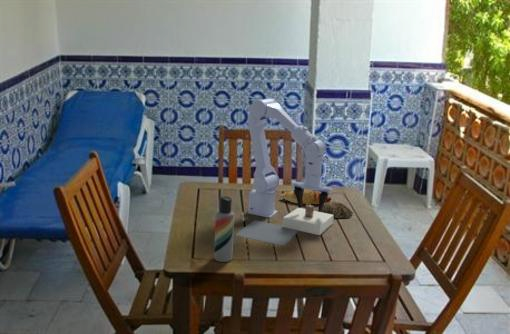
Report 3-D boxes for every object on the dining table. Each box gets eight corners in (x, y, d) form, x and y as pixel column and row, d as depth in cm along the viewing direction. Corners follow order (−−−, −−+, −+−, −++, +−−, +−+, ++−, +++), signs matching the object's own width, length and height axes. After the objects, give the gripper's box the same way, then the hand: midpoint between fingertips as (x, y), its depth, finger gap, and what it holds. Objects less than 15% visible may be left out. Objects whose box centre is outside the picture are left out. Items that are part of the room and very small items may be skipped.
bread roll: (315, 210, 220) (316, 198, 219) (342, 207, 225) (343, 196, 224) (331, 221, 209) (332, 208, 208) (358, 218, 214) (360, 206, 212)
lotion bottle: (213, 254, 173) (216, 194, 168) (231, 254, 174) (234, 194, 168) (213, 262, 168) (216, 200, 162) (232, 262, 168) (235, 200, 163)
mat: (234, 235, 189) (234, 234, 189) (254, 220, 204) (254, 220, 204) (283, 246, 182) (283, 245, 182) (300, 230, 197) (300, 229, 197)
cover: (282, 226, 199) (284, 207, 197) (297, 216, 211) (299, 197, 209) (319, 235, 193) (321, 215, 191) (332, 224, 205) (334, 205, 203)
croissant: (278, 210, 228) (279, 196, 222) (280, 192, 235) (280, 179, 230) (330, 213, 226) (331, 199, 220) (330, 195, 233) (331, 182, 228)
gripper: (290, 172, 197) (287, 208, 200) (329, 179, 191) (325, 216, 195) (296, 168, 203) (294, 203, 206) (334, 174, 197) (331, 210, 201)
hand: (309, 209), depth 201 cm, fingers open, 7 cm apart
